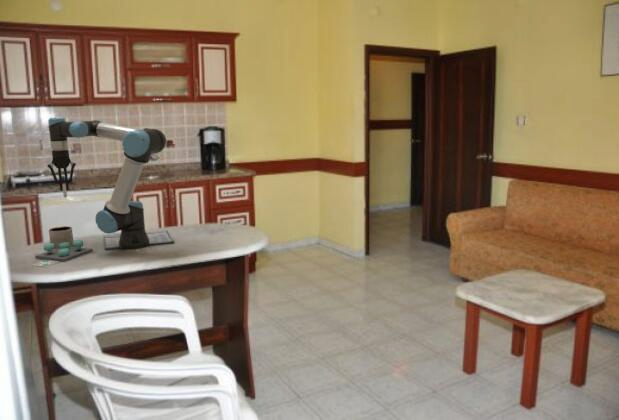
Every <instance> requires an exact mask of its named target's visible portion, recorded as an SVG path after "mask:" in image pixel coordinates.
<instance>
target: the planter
mask: <svg viewBox="0 0 619 420" xmlns="http://www.w3.org/2000/svg"><path fill="white" fill-rule="evenodd" d="M48 234H49V235H48V236H49V243H54V247H55V249H57V248H59V243H63V242H69V245H70V247H73V241H74V235H73V228H72V226H57V227H52V228H49V229H48Z"/></svg>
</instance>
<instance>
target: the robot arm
mask: <svg viewBox="0 0 619 420" xmlns="http://www.w3.org/2000/svg"><path fill="white" fill-rule="evenodd" d="M47 121H48V125H47V127H48V131H49V139H50V147H51V148H50V149H51V157H52V160H51V162H50V163H48V164H47V168H48V169H49V170H50V172H51V174H52V177H53V180H54V183H55V184H58V185H59V189H60V192H63V198H68V193H67V192H68V191H70V190H69V189H70V188H69V184H70V183H72V182H73V176H74V170H75V167H76V166H77V164H76V163H77V162H74V161H72V160H71V159H70V152H69V151H70V150H69V143H68V138H77V139H79V138H80V139H81V138H86V137H97V138H103V139H106V140H107V139H108V140H111V141H112V140H113V141H118V142H121V144H122V145H121V146H122V147H123V148H122V149H123V156H124V157H125V158H124V161H123V163H122V166H121V170H120V172H119V175H118V178H117V181H116V184H115V186H114V187H113V188H114V189H113V191H112V194H111V197H110V199H109V200H107V201H105V204H104V207H103V209H101V210H99V211H97V213H96V215H95V224H96V225H97V228H98V230H100V231H101V232H103V233H105V234H115V233H117V232H119V231H120V235H119V241H118V248H119V249H123V250H136V249H141V248H146V247H148V246H149V245H150V244H151V243H150V238H149V236H148V234H147V231H146V228H145V227H146V225H145V214H144V205H143V203H142V201H139V200H138V201H137V200H132V197H133V194H134V192H135V190H136V187H137V184H138V182H139V178H140V176H141V174H142V171H143V168H144V165H146V164H149V162H150V159H151V157H152V155H154V154H159V153H161V152H162V151H163V150H164V149H165V148H166V145H167V137H166V135H165V134H164V132H163V131H161V130H160V129H158V128H148V127H145V128H143V129H141V128H135V127H131V126H130V127H129V126H125V125H120V124H115V123H114V124H113V123H110V122H109V123H108V122H103V121H102V120H97V119H96V120H83V121H82V120H80V121H79V120H78V121H77V120H76V121H66V119H65V117H50V118H49V119H48V120H47ZM69 165H70V167H71V169H70V174H69V176H68V171H67V168H68V167H69ZM54 167H56V168H57V173H58V177H57V175H56V172H55V169H54ZM62 169H63V175H64V183H63V178H62V177H63V176H62ZM68 177H69V178H68Z"/></svg>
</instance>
